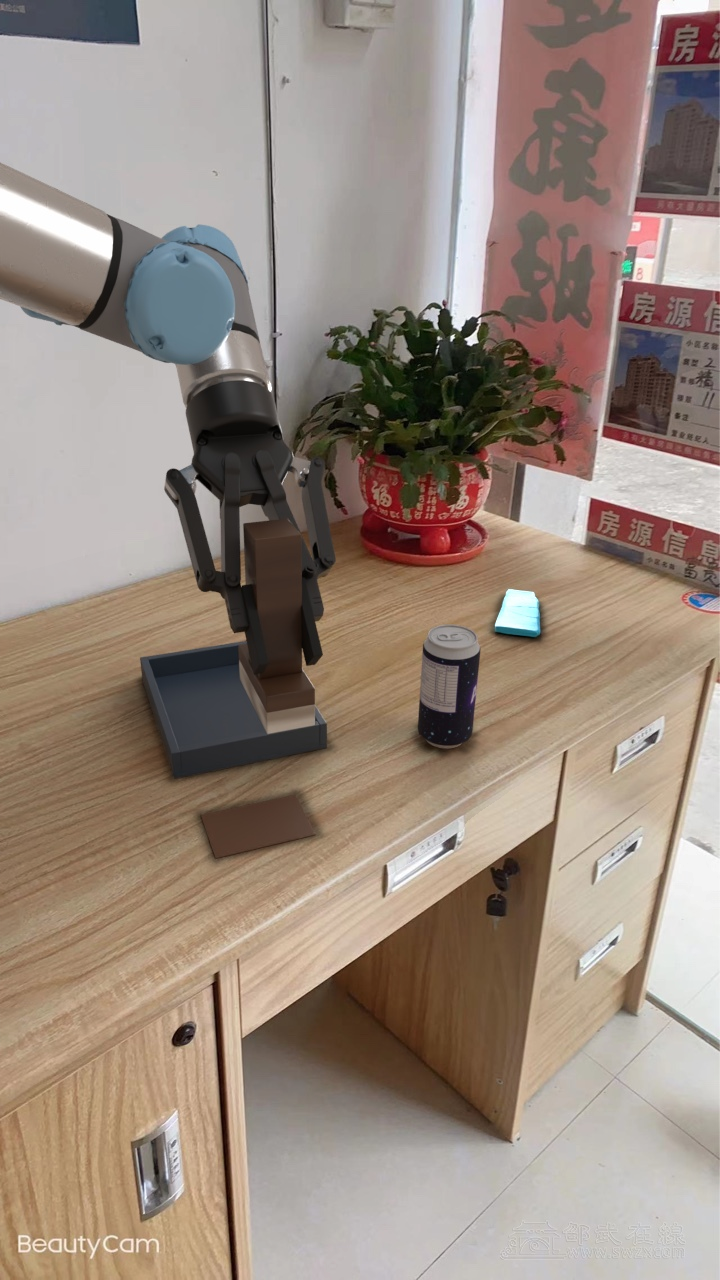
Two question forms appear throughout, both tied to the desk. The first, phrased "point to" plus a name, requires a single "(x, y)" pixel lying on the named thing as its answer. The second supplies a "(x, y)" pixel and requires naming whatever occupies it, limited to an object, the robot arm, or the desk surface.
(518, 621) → the sponge
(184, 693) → the tray
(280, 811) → the stain
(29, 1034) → the desk surface
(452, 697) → the beverage can
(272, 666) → the brush
